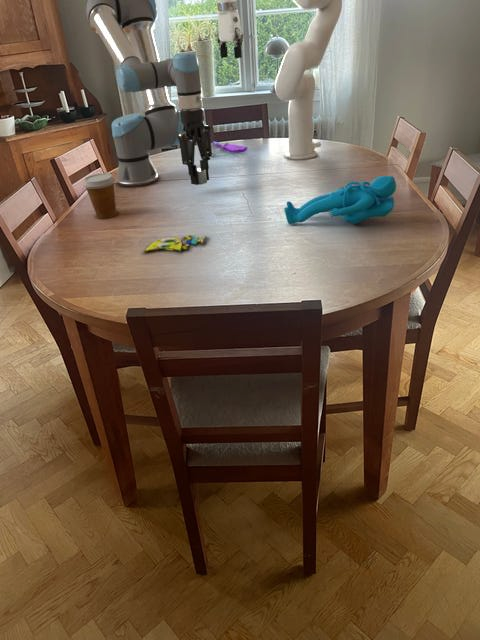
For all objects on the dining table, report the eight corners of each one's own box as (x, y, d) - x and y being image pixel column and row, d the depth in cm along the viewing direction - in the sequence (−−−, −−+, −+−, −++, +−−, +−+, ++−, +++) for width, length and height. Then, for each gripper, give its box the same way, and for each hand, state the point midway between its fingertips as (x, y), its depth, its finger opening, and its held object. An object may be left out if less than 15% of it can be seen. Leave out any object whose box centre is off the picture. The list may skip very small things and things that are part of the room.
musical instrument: (232, 160, 201) (256, 142, 213) (231, 155, 200) (255, 138, 212) (188, 160, 214) (213, 143, 226) (187, 155, 213) (212, 139, 225)
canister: (190, 184, 164) (188, 170, 161) (198, 179, 167) (196, 166, 165) (202, 185, 162) (200, 172, 159) (209, 181, 165) (208, 168, 162)
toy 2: (287, 190, 142) (392, 164, 132) (296, 223, 147) (398, 200, 137) (279, 211, 128) (396, 183, 118) (290, 247, 133) (402, 223, 123)
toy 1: (199, 248, 125) (143, 249, 127) (199, 251, 125) (144, 252, 127) (206, 233, 133) (154, 234, 135) (206, 236, 133) (154, 237, 136)
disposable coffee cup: (85, 218, 153) (75, 181, 146) (103, 208, 160) (94, 172, 154) (110, 221, 150) (101, 182, 143) (127, 210, 157) (119, 173, 150)
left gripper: (180, 115, 144) (190, 191, 156) (218, 104, 155) (225, 175, 168) (162, 113, 148) (174, 188, 161) (201, 103, 159) (209, 173, 172)
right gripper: (248, 6, 183) (251, 57, 192) (222, 8, 195) (226, 56, 204) (232, 7, 179) (236, 59, 189) (207, 10, 192) (211, 58, 201)
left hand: (200, 181), depth 164 cm, fingers closed on canister, 5 cm apart
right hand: (231, 57), depth 197 cm, fingers open, 9 cm apart
